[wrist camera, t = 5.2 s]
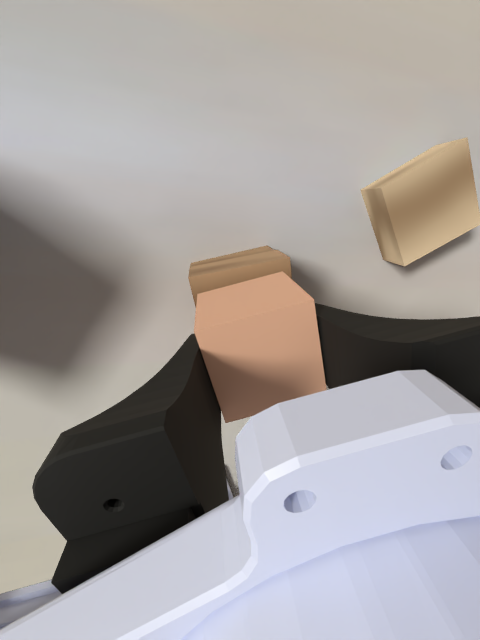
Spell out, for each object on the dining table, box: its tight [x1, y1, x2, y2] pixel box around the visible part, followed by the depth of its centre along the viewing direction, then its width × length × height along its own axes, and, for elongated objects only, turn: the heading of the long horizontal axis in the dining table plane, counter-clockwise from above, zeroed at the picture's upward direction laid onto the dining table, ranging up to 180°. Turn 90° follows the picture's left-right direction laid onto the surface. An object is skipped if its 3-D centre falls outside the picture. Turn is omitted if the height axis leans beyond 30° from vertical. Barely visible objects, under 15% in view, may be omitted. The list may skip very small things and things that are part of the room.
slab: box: [361, 138, 480, 266], centre depth 17 cm, size 5×5×2 cm
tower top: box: [188, 250, 292, 306], centre depth 16 cm, size 5×5×2 cm
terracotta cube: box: [194, 271, 326, 423], centre depth 12 cm, size 4×4×4 cm
